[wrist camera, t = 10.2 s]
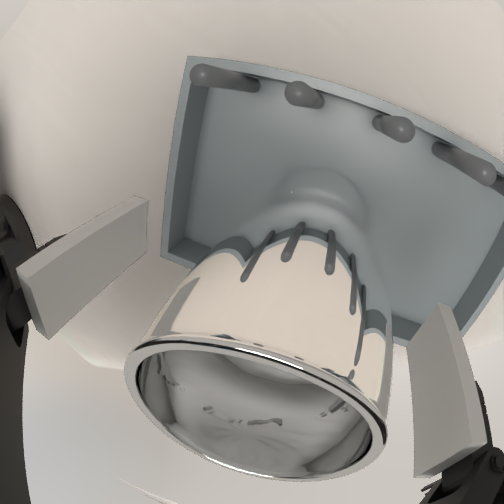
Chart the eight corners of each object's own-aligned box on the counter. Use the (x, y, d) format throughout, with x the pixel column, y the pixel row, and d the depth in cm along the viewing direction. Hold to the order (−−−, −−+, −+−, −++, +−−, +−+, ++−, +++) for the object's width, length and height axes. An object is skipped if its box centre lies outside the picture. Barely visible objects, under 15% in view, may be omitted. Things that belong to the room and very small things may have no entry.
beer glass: (388, 186, 16) (467, 403, 4) (347, 276, 20) (315, 495, 7) (283, 146, 17) (100, 266, 5) (255, 241, 21) (129, 424, 8)
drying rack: (183, 236, 24) (123, 289, 17) (212, 62, 17) (139, 45, 10) (437, 329, 20) (453, 405, 14) (519, 180, 13) (583, 222, 6)
